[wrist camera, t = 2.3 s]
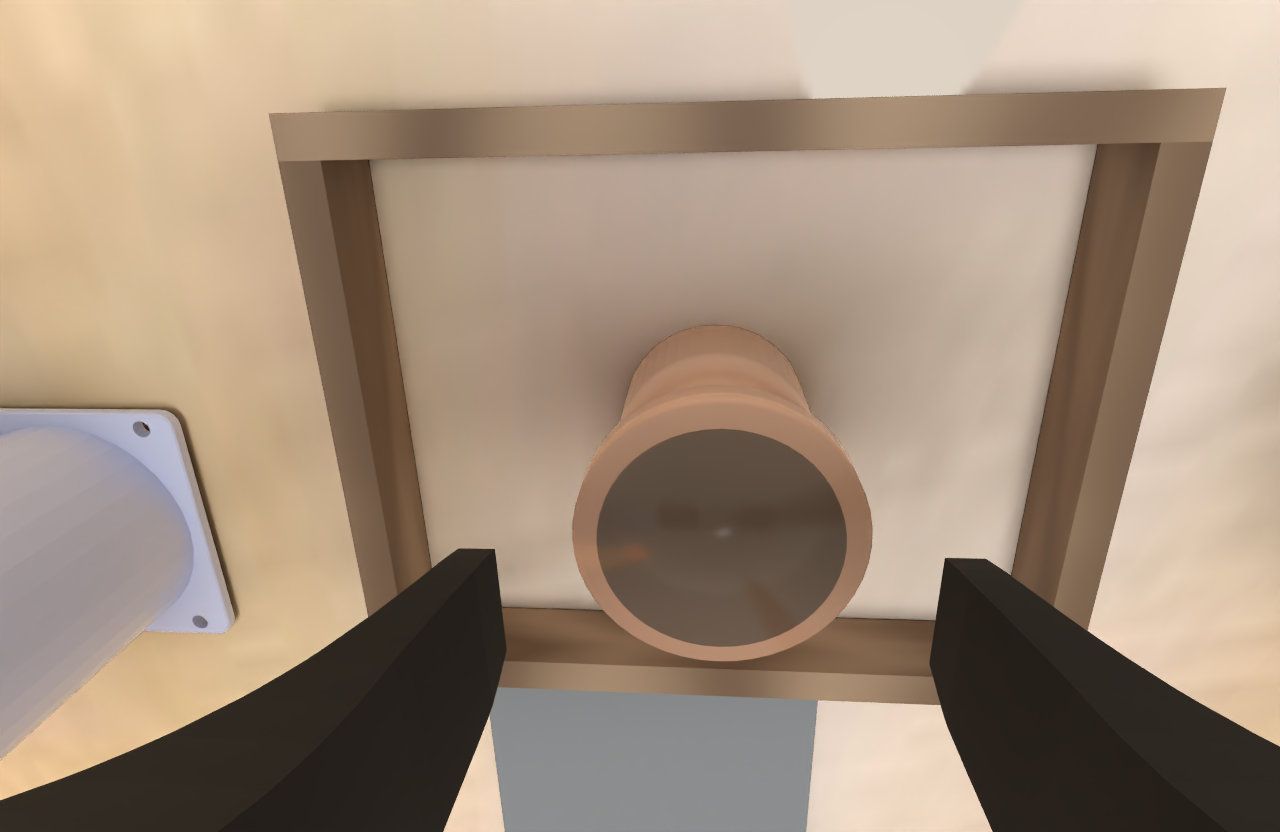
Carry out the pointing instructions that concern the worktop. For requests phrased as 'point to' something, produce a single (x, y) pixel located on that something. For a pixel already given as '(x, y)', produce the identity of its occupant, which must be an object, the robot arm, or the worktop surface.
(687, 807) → the potting mat
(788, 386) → the terracotta pot
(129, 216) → the worktop surface
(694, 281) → the worktop surface
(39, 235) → the worktop surface
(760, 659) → the cold frame
